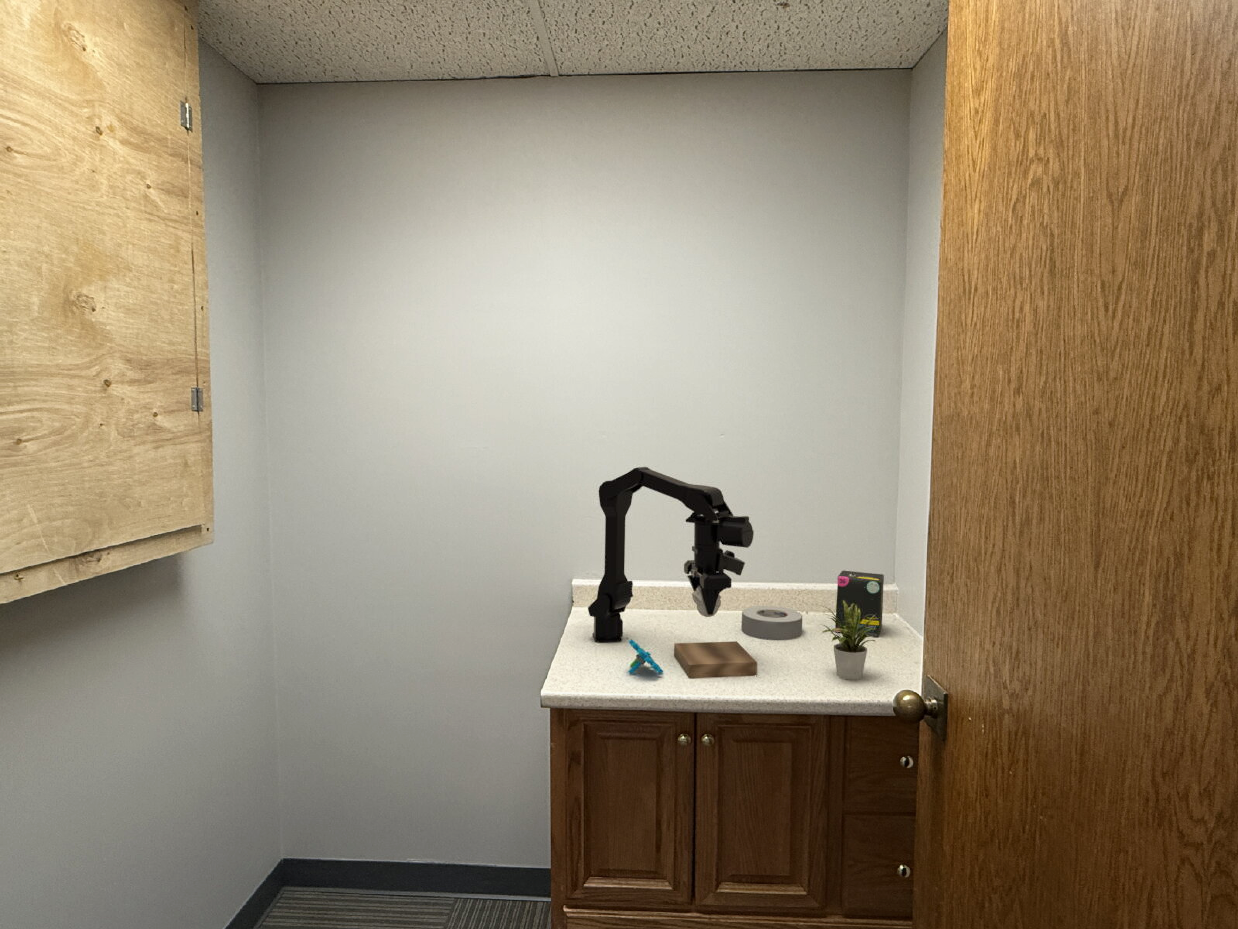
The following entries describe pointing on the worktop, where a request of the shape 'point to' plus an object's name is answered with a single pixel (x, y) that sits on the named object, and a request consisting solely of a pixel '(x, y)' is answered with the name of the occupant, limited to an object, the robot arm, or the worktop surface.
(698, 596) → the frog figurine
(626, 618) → the worktop surface
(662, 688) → the worktop surface
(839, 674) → the house plant
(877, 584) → the tampon box
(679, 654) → the walnut block
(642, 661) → the gear
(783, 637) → the tape roll
